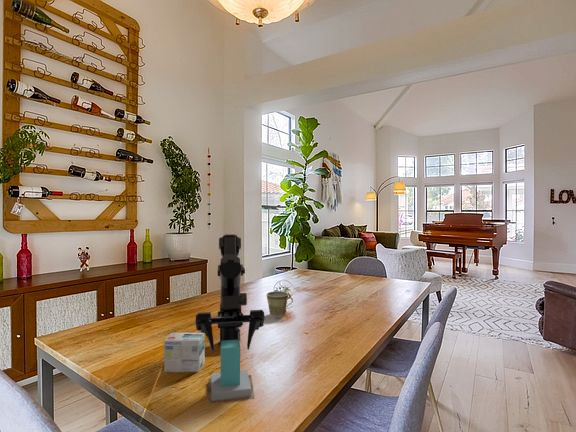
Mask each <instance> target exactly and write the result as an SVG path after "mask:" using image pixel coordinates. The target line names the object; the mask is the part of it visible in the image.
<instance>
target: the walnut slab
mask: <svg viewBox="0 0 576 432" xmlns="http://www.w3.org/2000/svg"><path fill="white" fill-rule="evenodd" d="M248 376H249V381H250V385H251V396H249V397H242V398H234V399H226V400H218V401H211V377H210V378H208V380H207V381H208V382H207V391H206V399H207V400H208V401H209V402H210V403H211V404H213V403H223V402H225V403H226V402H232V401H233V402H234V401H245V400H253V399H254V400H255V399H256V398H255V393H254V392H255V391H254V385H253V380H252V379H253V378H252V374H248Z"/></svg>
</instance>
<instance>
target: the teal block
mask: <svg viewBox="0 0 576 432" xmlns="http://www.w3.org/2000/svg"><path fill="white" fill-rule="evenodd" d="M240 341H241V340H240ZM240 341H239V340H226V341H221V345H220V373H221V387H222V386H232V385H240V371H241V342H240Z"/></svg>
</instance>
